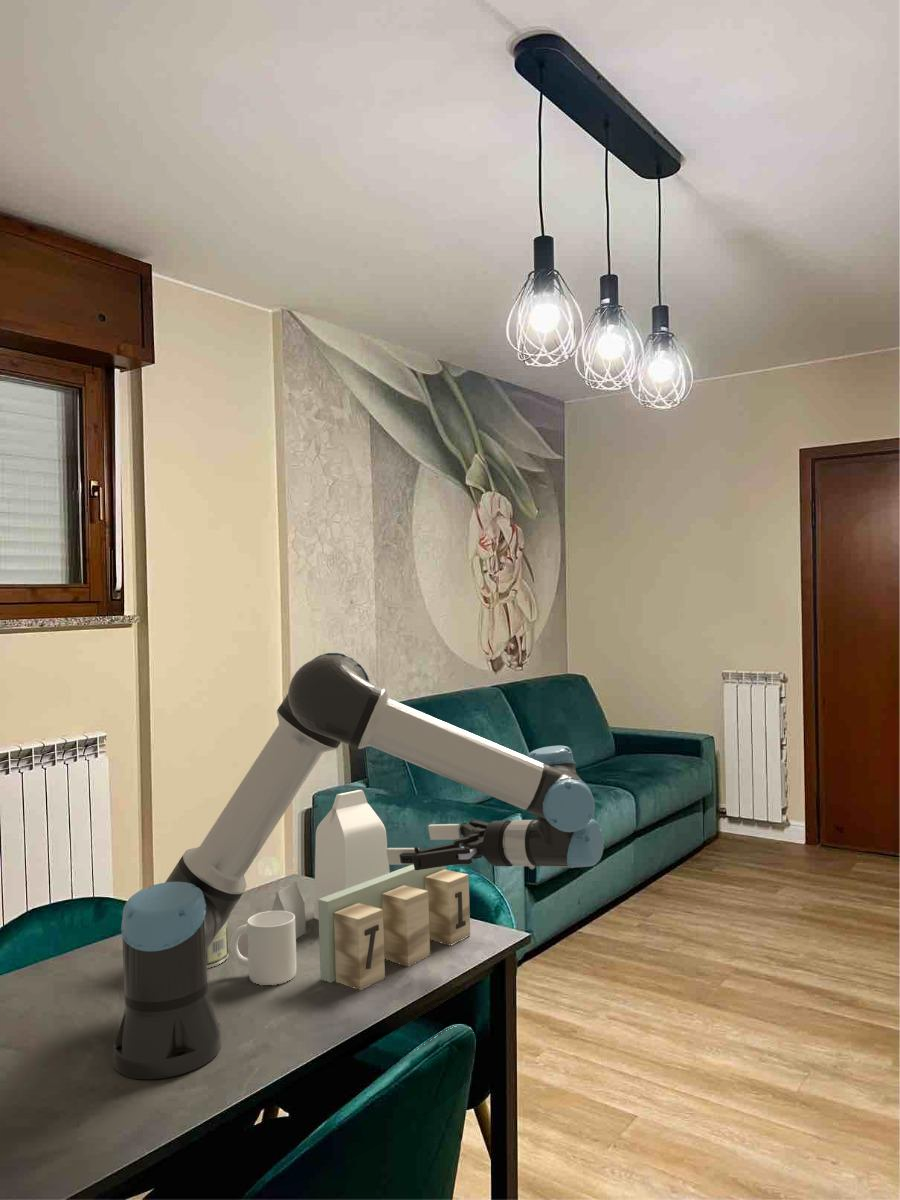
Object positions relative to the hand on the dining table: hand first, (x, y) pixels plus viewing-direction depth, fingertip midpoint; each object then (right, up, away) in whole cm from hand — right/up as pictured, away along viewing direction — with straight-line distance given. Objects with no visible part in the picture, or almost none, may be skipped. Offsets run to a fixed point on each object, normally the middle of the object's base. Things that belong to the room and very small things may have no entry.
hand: (410, 843), depth 164 cm
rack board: (-4, -22, +5) cm, 23 cm away
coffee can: (-39, -23, +4) cm, 46 cm away
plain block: (-1, -22, +2) cm, 22 cm away
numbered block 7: (-8, -22, -7) cm, 24 cm away
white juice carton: (-25, -23, +14) cm, 36 cm away
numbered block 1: (+7, -21, +12) cm, 25 cm away
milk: (-13, -22, +25) cm, 36 cm away
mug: (-26, -23, -4) cm, 34 cm away
